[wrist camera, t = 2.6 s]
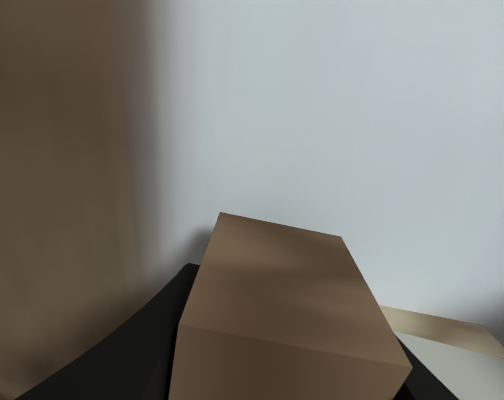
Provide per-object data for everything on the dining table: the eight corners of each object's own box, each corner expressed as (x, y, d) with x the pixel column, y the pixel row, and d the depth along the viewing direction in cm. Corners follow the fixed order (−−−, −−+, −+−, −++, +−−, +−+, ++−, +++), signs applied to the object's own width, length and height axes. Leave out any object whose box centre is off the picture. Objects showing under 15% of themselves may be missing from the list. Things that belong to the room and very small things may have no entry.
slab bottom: (473, 316, 14) (515, 359, 12) (385, 443, 19) (402, 493, 16) (329, 287, 14) (343, 325, 11) (274, 423, 18) (275, 472, 16)
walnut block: (341, 236, 10) (413, 368, 5) (306, 326, 11) (336, 487, 7) (220, 212, 9) (178, 324, 5) (203, 306, 11) (160, 457, 7)
